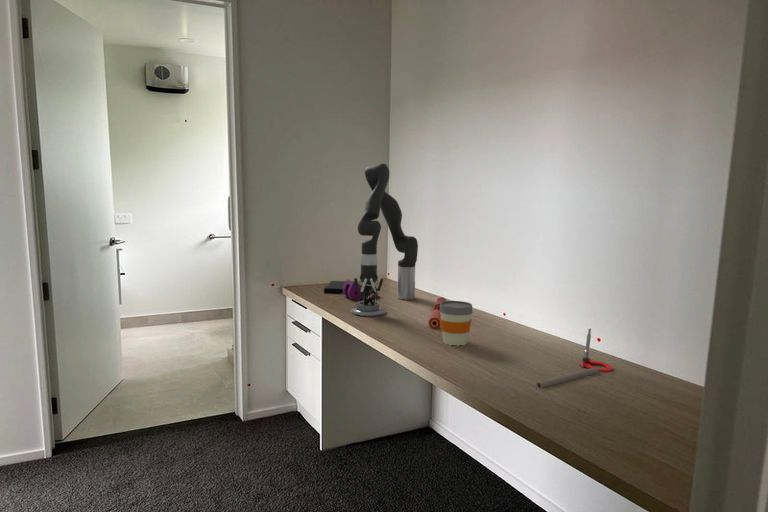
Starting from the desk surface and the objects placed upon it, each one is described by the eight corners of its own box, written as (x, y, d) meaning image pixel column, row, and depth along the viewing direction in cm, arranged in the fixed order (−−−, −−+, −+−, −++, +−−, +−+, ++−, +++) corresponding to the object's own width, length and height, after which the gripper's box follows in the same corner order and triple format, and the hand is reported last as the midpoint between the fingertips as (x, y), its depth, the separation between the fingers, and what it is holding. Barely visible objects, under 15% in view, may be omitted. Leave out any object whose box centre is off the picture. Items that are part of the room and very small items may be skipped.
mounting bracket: (367, 305, 285) (340, 293, 277) (374, 291, 285) (346, 279, 277) (375, 309, 276) (346, 297, 268) (381, 294, 277) (353, 282, 269)
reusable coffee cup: (460, 336, 207) (462, 299, 205) (477, 345, 196) (479, 306, 194) (432, 339, 203) (433, 301, 201) (447, 348, 191) (449, 309, 189)
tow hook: (615, 369, 174) (587, 361, 180) (620, 332, 172) (592, 325, 178) (606, 375, 168) (578, 367, 174) (611, 337, 166) (582, 330, 172)
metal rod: (536, 387, 156) (536, 381, 156) (594, 372, 170) (594, 366, 170) (541, 389, 155) (541, 383, 155) (599, 374, 169) (599, 368, 169)
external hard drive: (323, 293, 287) (323, 288, 286) (331, 285, 309) (331, 280, 309) (349, 294, 286) (349, 289, 285) (354, 286, 308) (354, 281, 308)
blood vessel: (440, 329, 218) (440, 318, 217) (428, 328, 219) (428, 317, 218) (446, 307, 259) (446, 297, 258) (436, 306, 260) (436, 296, 259)
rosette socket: (385, 309, 251) (385, 299, 251) (384, 317, 236) (384, 307, 235) (352, 308, 252) (352, 299, 251) (349, 316, 236) (349, 306, 236)
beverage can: (377, 309, 244) (379, 284, 242) (369, 311, 240) (370, 285, 238) (368, 307, 248) (370, 282, 246) (360, 308, 244) (361, 283, 242)
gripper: (384, 262, 244) (384, 298, 247) (354, 261, 245) (353, 297, 247) (384, 265, 237) (383, 301, 239) (352, 264, 237) (352, 300, 240)
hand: (368, 299), depth 243 cm, fingers open, 4 cm apart
